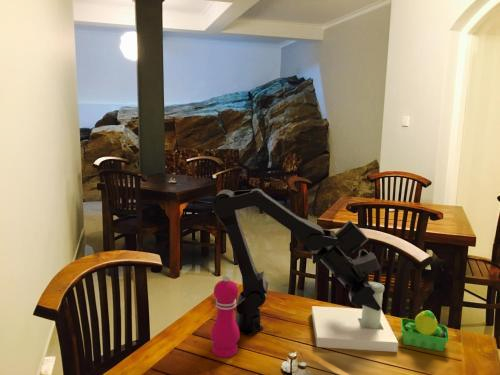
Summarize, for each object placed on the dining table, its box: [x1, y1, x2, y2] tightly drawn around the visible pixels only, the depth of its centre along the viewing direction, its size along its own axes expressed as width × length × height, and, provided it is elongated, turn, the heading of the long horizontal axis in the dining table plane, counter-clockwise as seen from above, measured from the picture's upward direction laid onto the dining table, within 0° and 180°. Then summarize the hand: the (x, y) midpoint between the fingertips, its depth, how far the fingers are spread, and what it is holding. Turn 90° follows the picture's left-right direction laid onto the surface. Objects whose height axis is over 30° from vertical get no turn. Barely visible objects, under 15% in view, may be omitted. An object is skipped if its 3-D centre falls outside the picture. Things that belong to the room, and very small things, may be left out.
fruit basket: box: [400, 309, 450, 352], centre depth 111 cm, size 11×9×11 cm
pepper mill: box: [210, 274, 241, 359], centre depth 106 cm, size 7×7×20 cm
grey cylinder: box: [361, 281, 385, 329], centre depth 115 cm, size 5×5×11 cm
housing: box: [311, 305, 399, 353], centre depth 117 cm, size 20×18×4 cm
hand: (377, 305), depth 115 cm, fingers closed on grey cylinder, 5 cm apart
